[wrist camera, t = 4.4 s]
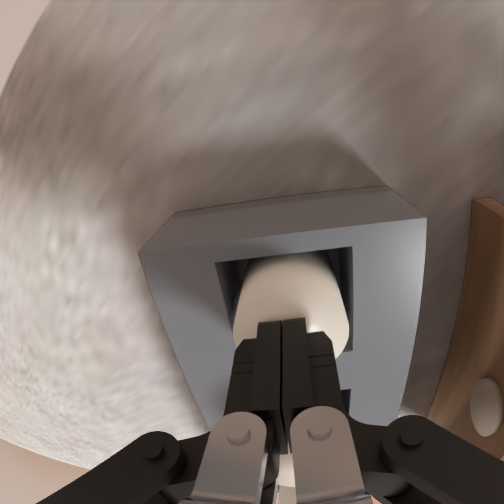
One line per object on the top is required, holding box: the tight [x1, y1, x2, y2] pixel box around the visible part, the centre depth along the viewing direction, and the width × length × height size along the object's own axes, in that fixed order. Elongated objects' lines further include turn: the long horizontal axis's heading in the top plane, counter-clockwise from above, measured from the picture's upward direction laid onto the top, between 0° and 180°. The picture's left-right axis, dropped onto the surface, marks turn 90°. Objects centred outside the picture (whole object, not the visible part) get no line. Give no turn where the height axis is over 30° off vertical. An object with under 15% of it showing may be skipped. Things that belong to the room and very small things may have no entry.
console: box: [138, 186, 427, 492], centre depth 16 cm, size 10×20×4 cm, turn 10°
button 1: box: [233, 250, 349, 359], centre depth 12 cm, size 4×4×4 cm
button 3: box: [278, 485, 297, 504], centre depth 16 cm, size 4×4×4 cm
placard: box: [427, 197, 504, 461], centre depth 13 cm, size 2×18×9 cm, turn 10°
